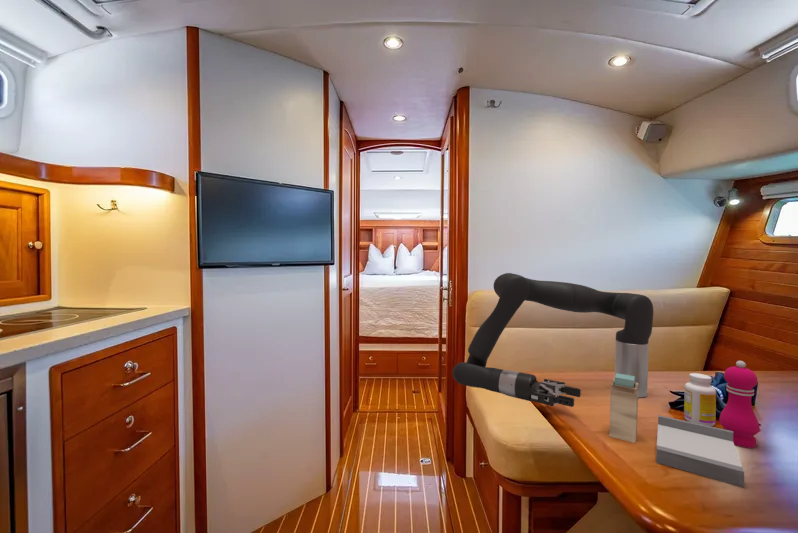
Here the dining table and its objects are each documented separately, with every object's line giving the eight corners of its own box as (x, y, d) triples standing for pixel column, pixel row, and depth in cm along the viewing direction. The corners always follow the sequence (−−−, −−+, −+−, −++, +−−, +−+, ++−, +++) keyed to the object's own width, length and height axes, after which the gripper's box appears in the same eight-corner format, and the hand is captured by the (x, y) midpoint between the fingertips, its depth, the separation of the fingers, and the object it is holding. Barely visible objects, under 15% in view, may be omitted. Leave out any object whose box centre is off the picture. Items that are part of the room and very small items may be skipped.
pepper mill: (767, 450, 85) (770, 366, 84) (731, 447, 86) (734, 364, 86) (744, 435, 92) (747, 357, 91) (711, 432, 93) (714, 356, 93)
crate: (612, 428, 95) (613, 378, 95) (637, 434, 92) (638, 383, 92) (609, 436, 91) (610, 384, 91) (635, 443, 88) (636, 389, 87)
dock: (657, 434, 92) (658, 415, 92) (732, 452, 84) (732, 431, 84) (656, 462, 79) (656, 440, 79) (743, 487, 71) (744, 462, 71)
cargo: (616, 384, 94) (616, 373, 94) (634, 388, 92) (634, 376, 92) (614, 389, 91) (614, 377, 91) (633, 392, 88) (633, 380, 88)
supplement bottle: (719, 424, 98) (720, 377, 98) (709, 429, 95) (710, 381, 95) (689, 414, 104) (691, 370, 104) (679, 419, 101) (680, 374, 100)
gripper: (509, 378, 102) (572, 391, 92) (525, 366, 113) (582, 377, 103) (508, 404, 102) (571, 420, 92) (525, 390, 113) (582, 403, 104)
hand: (577, 397), depth 98 cm, fingers open, 8 cm apart
